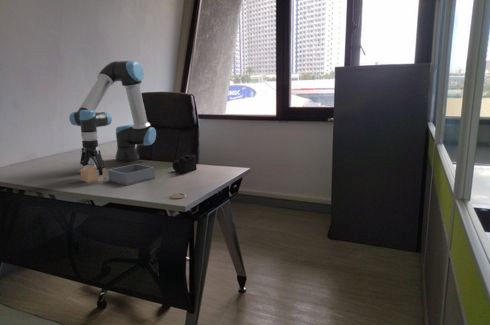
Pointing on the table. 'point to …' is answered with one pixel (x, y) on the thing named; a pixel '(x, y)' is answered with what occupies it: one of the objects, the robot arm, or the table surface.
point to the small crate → (91, 174)
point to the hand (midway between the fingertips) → (93, 179)
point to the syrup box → (91, 162)
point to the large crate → (131, 174)
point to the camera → (185, 164)
